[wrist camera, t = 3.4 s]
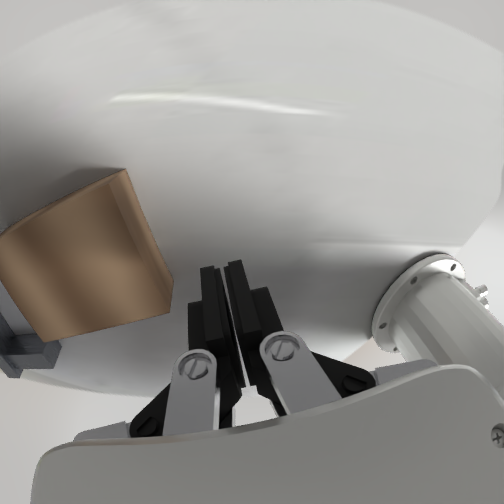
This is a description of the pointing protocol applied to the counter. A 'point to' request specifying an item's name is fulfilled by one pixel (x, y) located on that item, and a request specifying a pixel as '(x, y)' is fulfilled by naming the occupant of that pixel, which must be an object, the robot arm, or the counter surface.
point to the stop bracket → (25, 351)
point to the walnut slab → (85, 262)
